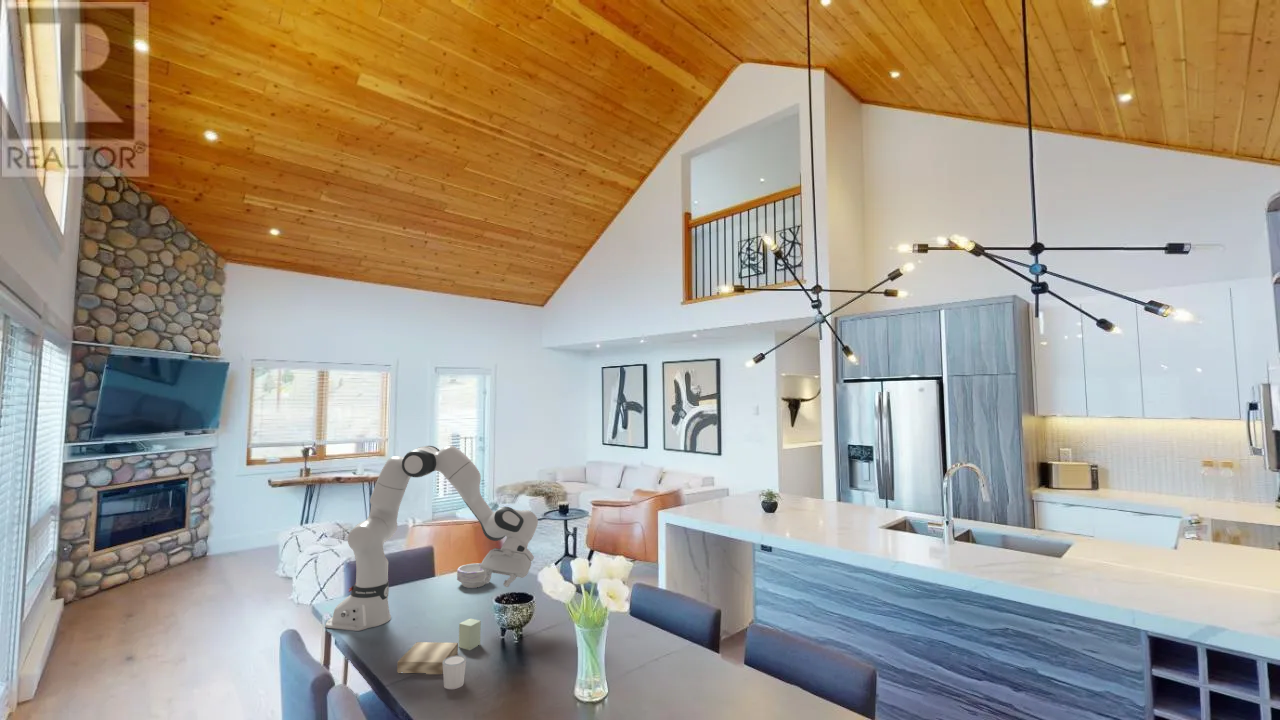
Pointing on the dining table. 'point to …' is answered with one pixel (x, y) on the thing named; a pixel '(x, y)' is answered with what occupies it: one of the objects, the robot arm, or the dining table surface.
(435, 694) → the dining table surface
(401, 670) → the block
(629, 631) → the dining table surface
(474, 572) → the light grey bowl
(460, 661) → the shot glass
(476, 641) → the sage block
